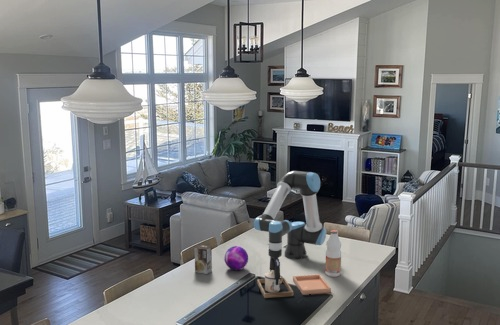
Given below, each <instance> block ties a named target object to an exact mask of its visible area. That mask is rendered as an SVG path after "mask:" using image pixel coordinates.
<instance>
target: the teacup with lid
mask: <svg viewBox="0 0 500 325" xmlns="http://www.w3.org/2000/svg"><path fill="white" fill-rule="evenodd" d="M274 278H275V275H274V270H271V272H270V271H268V272H266V273H264V279H265V283H264V291H265V292H266V293H276V292H280V291H281V284H282V283H283V282H282V281H283V278H284V277H283V276H282V275H281V274H280V278H281V281H280V279H279V290H274Z"/></svg>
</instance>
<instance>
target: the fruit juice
mask: <svg viewBox="0 0 500 325" xmlns="http://www.w3.org/2000/svg"><path fill="white" fill-rule="evenodd" d="M329 233H330V235H329V238H328V240H327V241H326V251H325V267H324V268H325V270H324V271H325V272H324V273H325V275H326V276H328V277H339V276H341V272H342V271H341V268H342V250H341V249H342V242H341V241H340V238H339V230H337V229H331V230H330V232H329Z"/></svg>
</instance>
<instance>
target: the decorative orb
mask: <svg viewBox="0 0 500 325" xmlns="http://www.w3.org/2000/svg"><path fill="white" fill-rule="evenodd" d="M248 261H249V254H248V252H247V250H246V249H245V248H244V247H241V246H238V245H233V246H231V247H229V248H228V249H227V250H226V251H225V254H224V262H225V265H226V266H227V267H228V268H229V269H231V270H233V271H240V270H242V269H244V268H245V267H246V266H247V264H248Z"/></svg>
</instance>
